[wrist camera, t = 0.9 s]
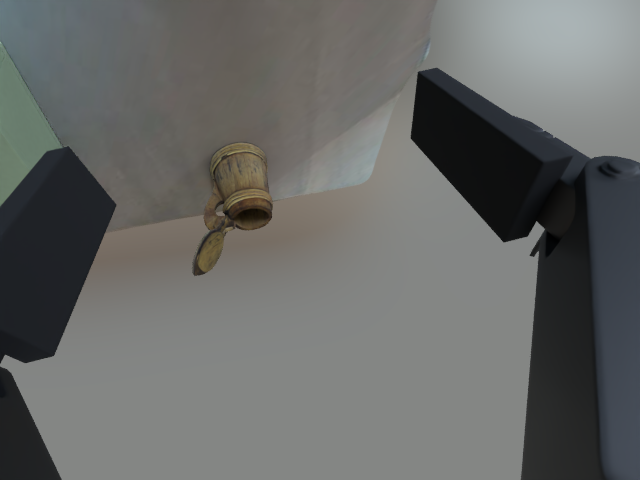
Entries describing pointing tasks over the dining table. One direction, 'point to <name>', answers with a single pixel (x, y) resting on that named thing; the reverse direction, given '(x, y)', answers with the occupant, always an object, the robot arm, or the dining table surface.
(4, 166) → the cabinet
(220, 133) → the dining table surface
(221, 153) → the wooden mug
